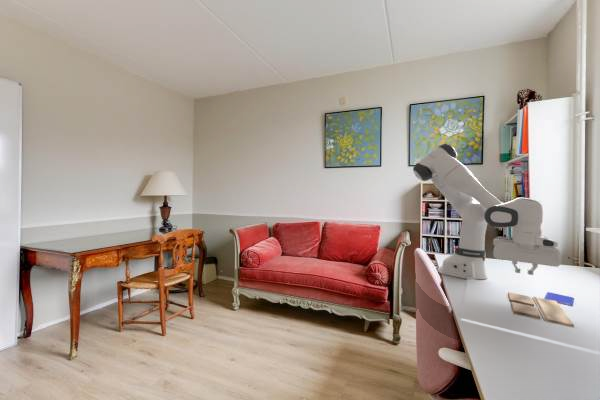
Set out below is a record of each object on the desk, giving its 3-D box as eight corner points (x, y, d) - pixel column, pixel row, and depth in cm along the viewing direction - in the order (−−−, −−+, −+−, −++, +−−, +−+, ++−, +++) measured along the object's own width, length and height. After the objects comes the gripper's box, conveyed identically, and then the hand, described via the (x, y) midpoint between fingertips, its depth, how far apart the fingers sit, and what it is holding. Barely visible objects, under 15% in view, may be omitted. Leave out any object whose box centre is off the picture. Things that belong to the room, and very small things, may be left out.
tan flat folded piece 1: (513, 314, 93) (513, 310, 93) (510, 304, 101) (511, 301, 101) (540, 320, 89) (540, 316, 89) (535, 310, 97) (535, 306, 97)
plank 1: (510, 302, 103) (510, 299, 103) (507, 295, 111) (508, 292, 111) (533, 307, 99) (534, 304, 99) (529, 299, 107) (530, 296, 107)
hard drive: (573, 305, 99) (574, 297, 108) (543, 298, 106) (547, 291, 114) (572, 309, 100) (574, 301, 108) (543, 302, 106) (546, 295, 114)
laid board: (544, 322, 88) (544, 318, 88) (532, 299, 107) (532, 296, 107) (573, 328, 84) (574, 324, 84) (556, 304, 103) (556, 300, 103)
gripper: (494, 236, 107) (492, 270, 107) (563, 243, 96) (561, 280, 97) (492, 234, 112) (490, 266, 113) (558, 240, 101) (555, 276, 102)
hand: (523, 273), depth 105 cm, fingers open, 2 cm apart
